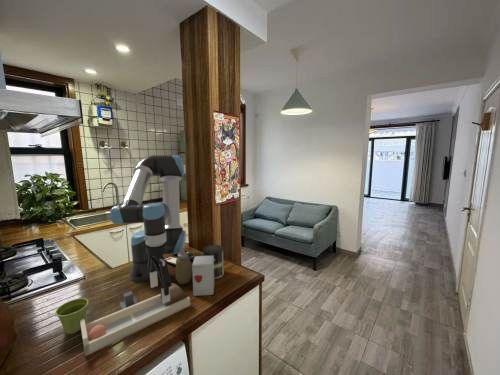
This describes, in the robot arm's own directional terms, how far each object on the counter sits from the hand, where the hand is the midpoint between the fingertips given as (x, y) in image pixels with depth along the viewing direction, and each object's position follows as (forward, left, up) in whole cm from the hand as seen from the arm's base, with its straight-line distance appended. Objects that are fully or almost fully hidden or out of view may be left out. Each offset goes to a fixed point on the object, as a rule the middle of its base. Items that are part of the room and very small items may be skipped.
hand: (160, 293), depth 89 cm
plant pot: (-11, -27, -7) cm, 30 cm away
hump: (0, +5, -7) cm, 9 cm away
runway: (0, -8, -7) cm, 11 cm away
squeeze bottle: (-13, +16, -7) cm, 22 cm away
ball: (+2, -22, -4) cm, 22 cm away
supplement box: (0, +20, -8) cm, 21 cm away
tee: (-12, -9, -7) cm, 17 cm away
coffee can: (-9, +31, -7) cm, 33 cm away
